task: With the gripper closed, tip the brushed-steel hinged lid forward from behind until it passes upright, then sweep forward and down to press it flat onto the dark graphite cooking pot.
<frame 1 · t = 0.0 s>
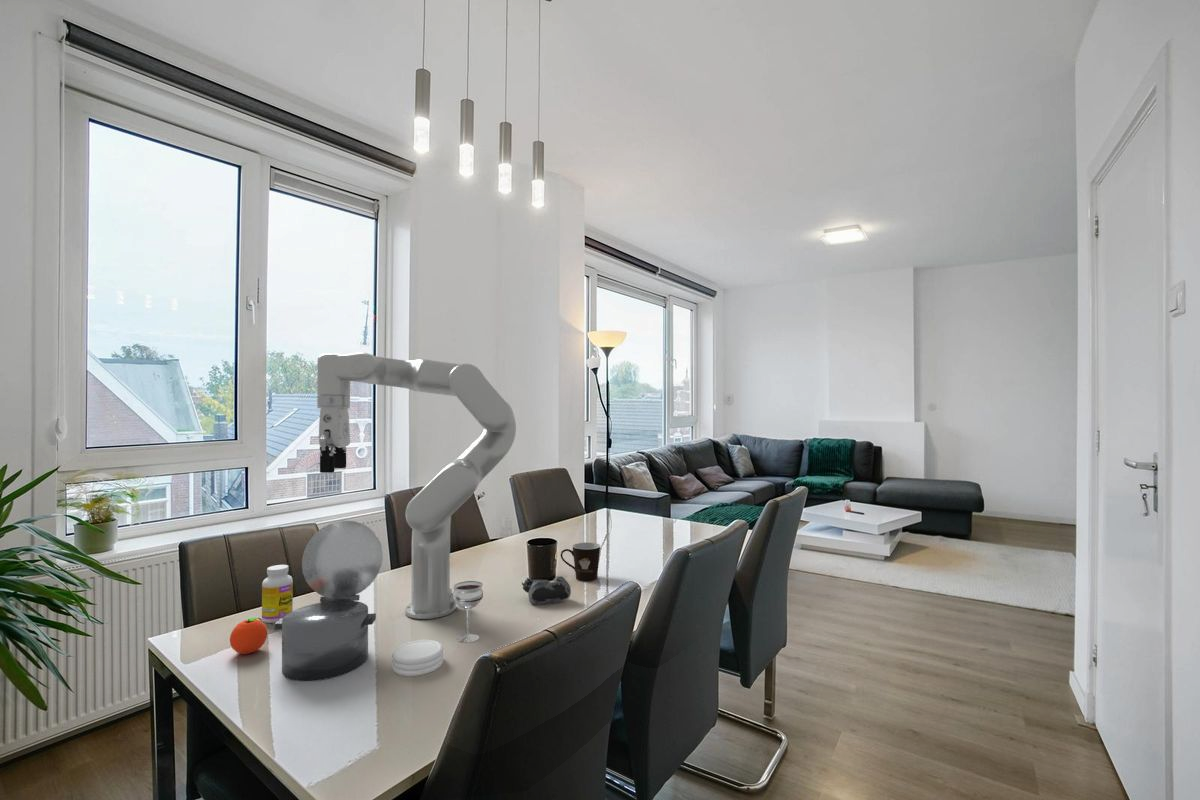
hand: (333, 470, 143), 37 cm above the table, tool pointing down, fingers open, 9 cm apart
white round stack: (418, 666, 115), on the table
wineglass: (468, 639, 129), on the table
coffee mug: (582, 578, 174), on the table
bison figurine: (546, 600, 154), on the table
lid: (343, 560, 128), point 18 cm above the table, hinge at 104.0°
supplement bottle: (277, 619, 140), on the table
pot: (326, 662, 117), on the table
clementine: (250, 652, 122), on the table
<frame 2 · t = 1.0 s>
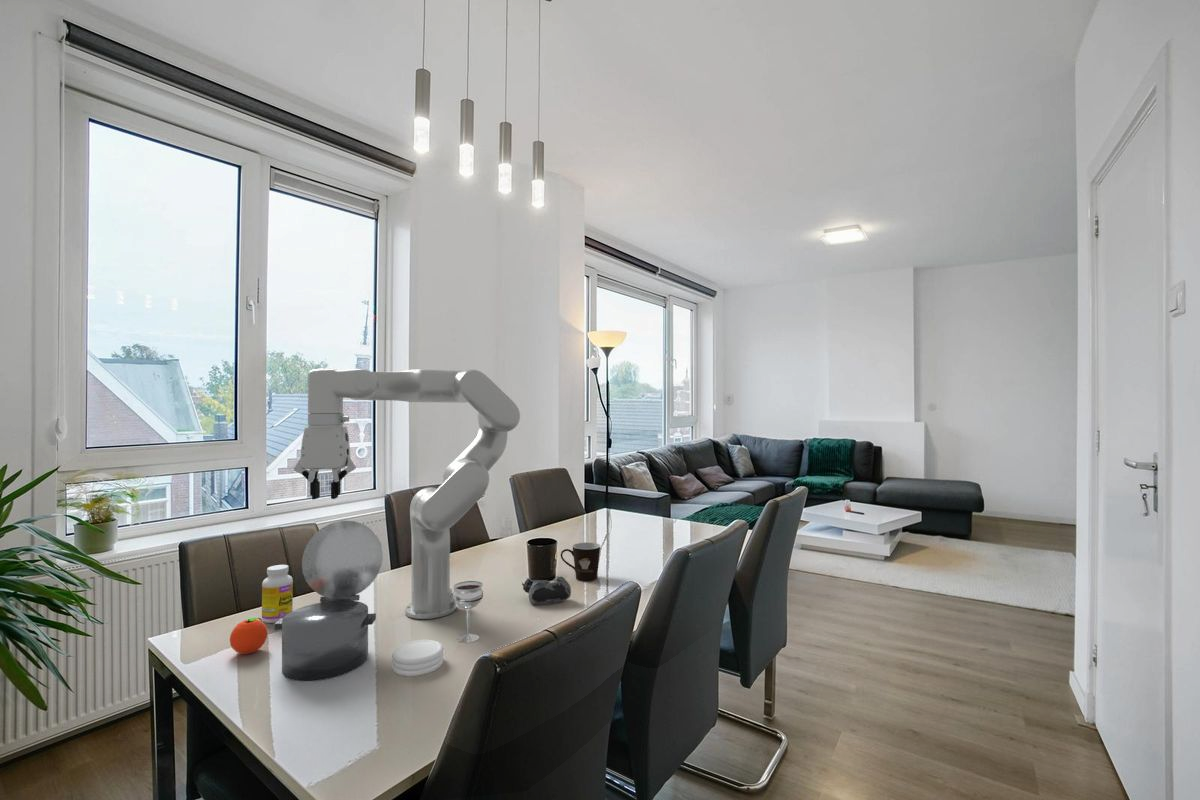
hand: (325, 497, 134), 31 cm above the table, tool pointing down, fingers open, 3 cm apart
nothing on the table moved.
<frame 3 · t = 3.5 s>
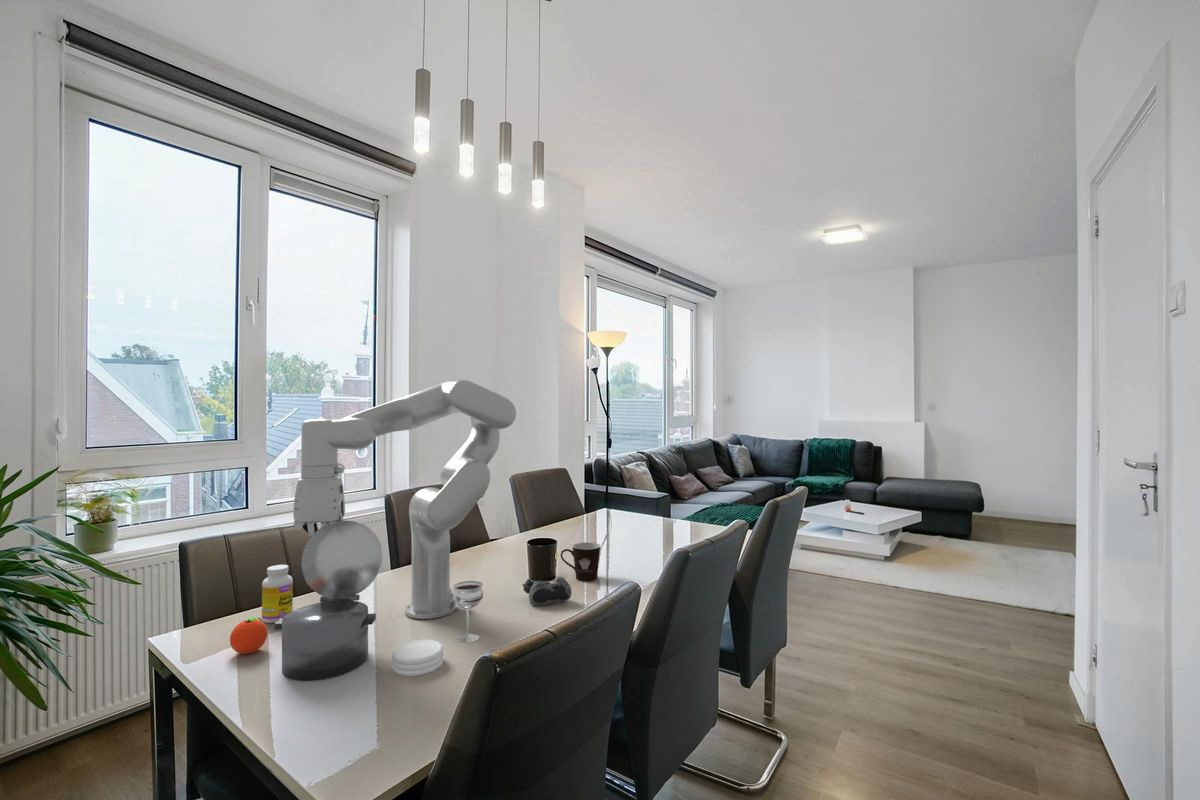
hand: (318, 552, 130), 19 cm above the table, tool pointing down, fingers closed
lid: (343, 560, 128), point 18 cm above the table, hinge at 101.8°, touching gripper
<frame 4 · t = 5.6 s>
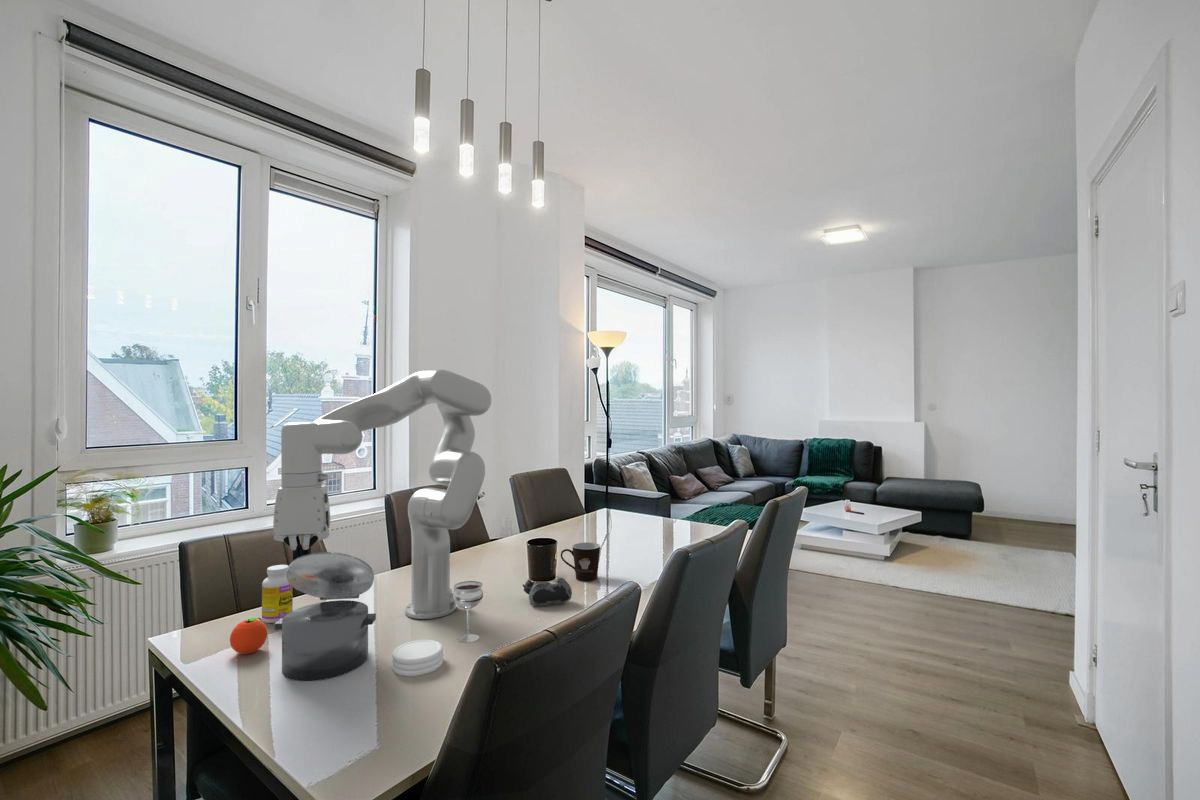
hand: (302, 567, 119), 19 cm above the table, tool pointing down, fingers closed
lid: (332, 574, 120), point 17 cm above the table, hinge at 46.4°, touching gripper
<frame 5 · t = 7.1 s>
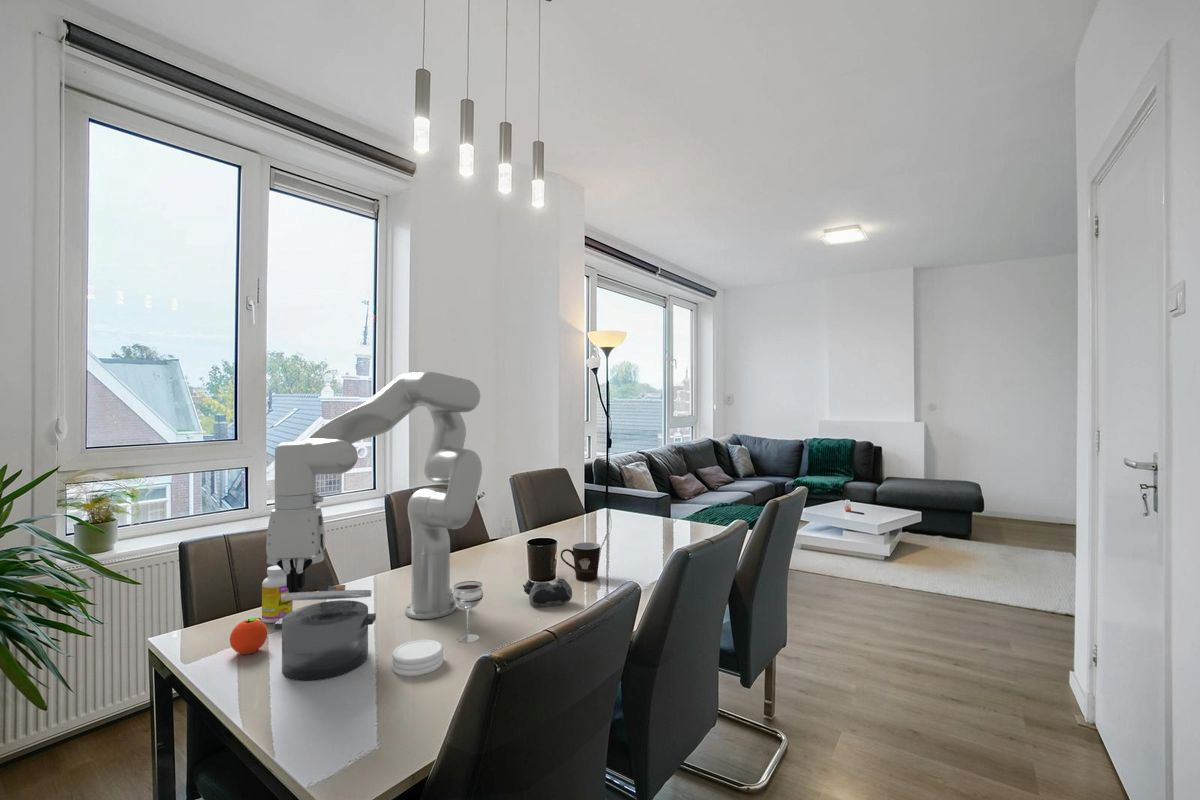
hand: (295, 591, 116), 15 cm above the table, tool pointing down, fingers closed
lid: (328, 592, 118), point 14 cm above the table, hinge at 19.1°, touching gripper
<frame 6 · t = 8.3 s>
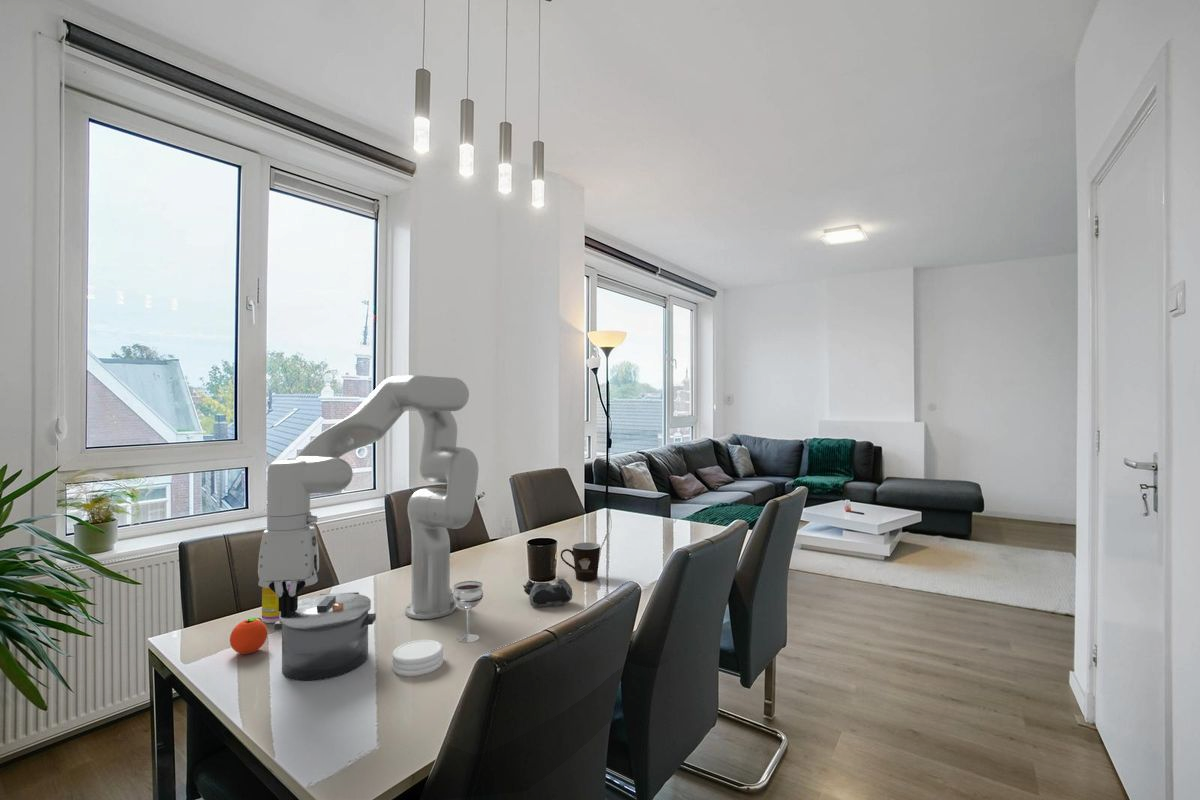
hand: (288, 614, 112), 11 cm above the table, tool pointing down, fingers closed
lid: (326, 606, 117), point 11 cm above the table, hinge at 0.2°, touching gripper
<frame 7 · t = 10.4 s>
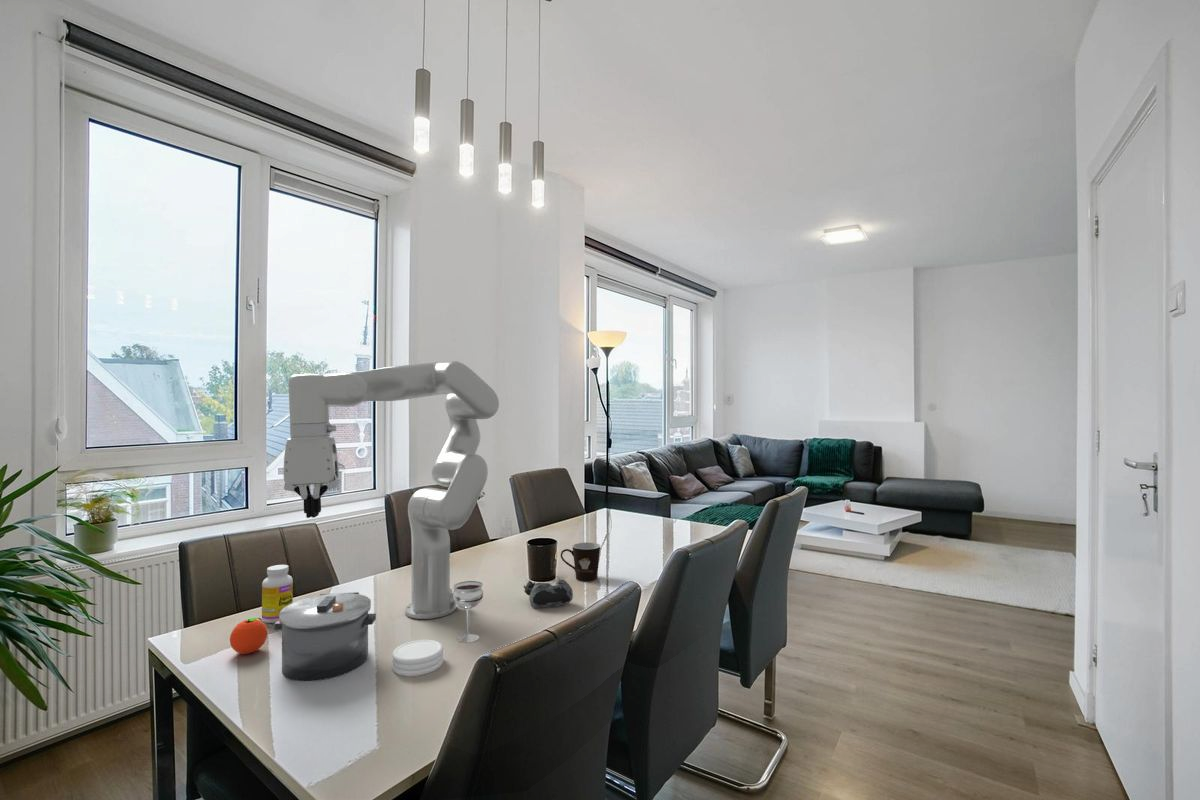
hand: (312, 516, 122), 29 cm above the table, tool pointing down, fingers closed
lid: (326, 606, 117), point 11 cm above the table, hinge at 0.0°
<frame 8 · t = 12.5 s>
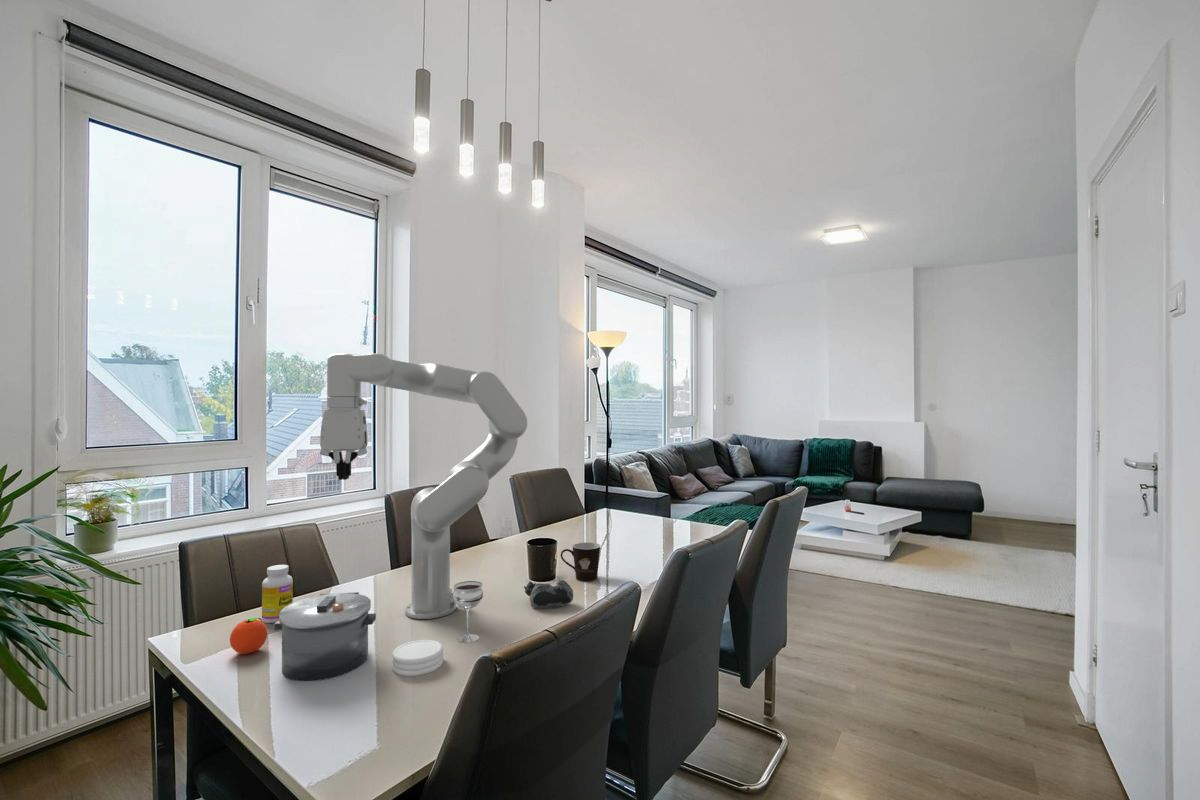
hand: (343, 478, 138), 35 cm above the table, tool pointing down, fingers closed
at the end: lid at +0° (first picture: +104°); clementine moved 0.2 cm from its start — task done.
